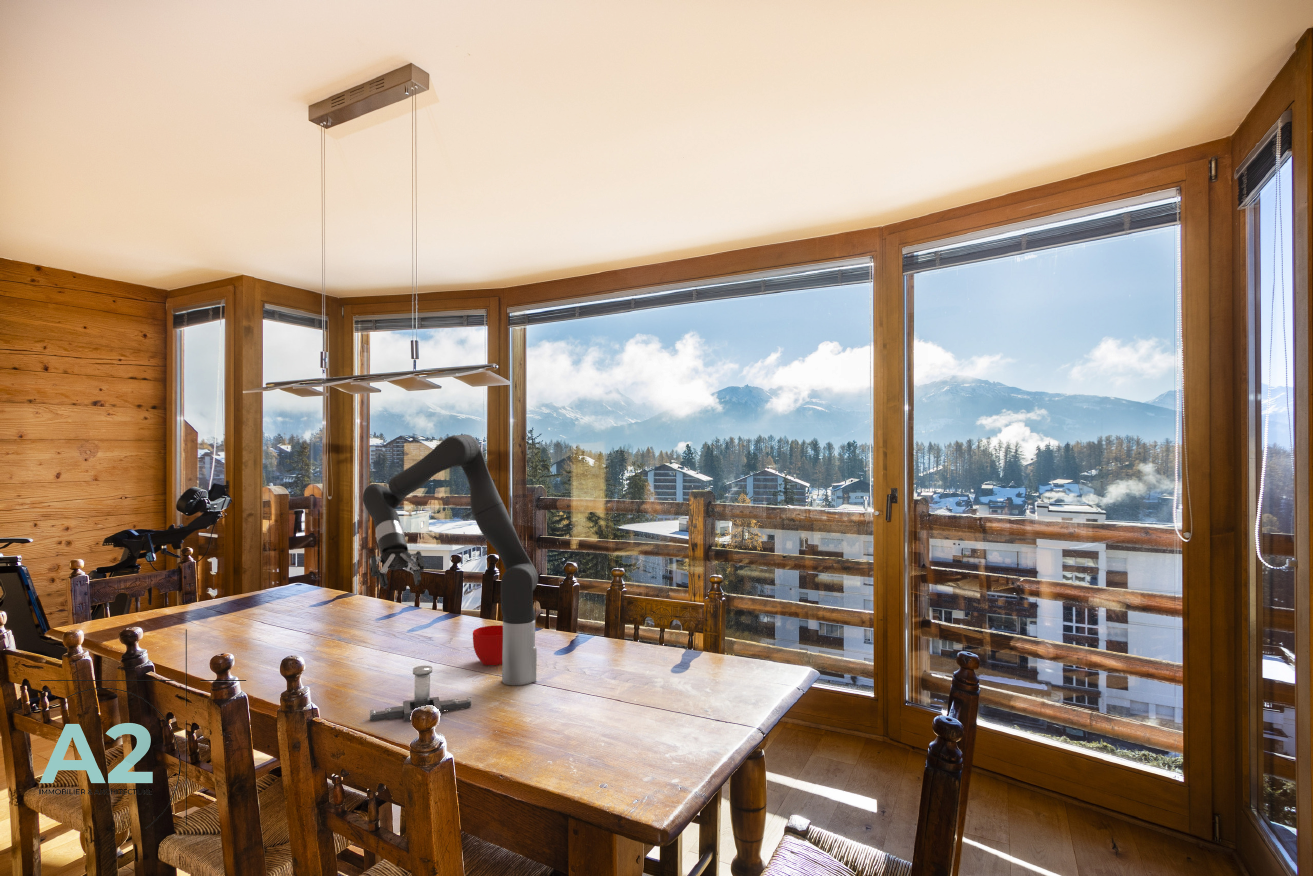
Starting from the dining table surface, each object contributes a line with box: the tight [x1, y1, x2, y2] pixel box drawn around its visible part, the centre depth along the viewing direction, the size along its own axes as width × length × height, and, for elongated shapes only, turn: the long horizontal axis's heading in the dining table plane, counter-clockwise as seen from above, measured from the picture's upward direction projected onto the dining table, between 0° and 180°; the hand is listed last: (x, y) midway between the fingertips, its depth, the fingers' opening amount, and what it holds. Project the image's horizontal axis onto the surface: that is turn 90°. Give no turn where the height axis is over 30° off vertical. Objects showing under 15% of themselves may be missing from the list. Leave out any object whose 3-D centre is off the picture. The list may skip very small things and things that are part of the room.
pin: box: [412, 665, 433, 709], centre depth 162 cm, size 5×5×11 cm
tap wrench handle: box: [369, 696, 472, 723], centre depth 162 cm, size 24×9×2 cm, turn 113°
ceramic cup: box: [472, 624, 503, 666], centre depth 202 cm, size 13×17×10 cm
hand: (402, 585), depth 179 cm, fingers open, 8 cm apart
